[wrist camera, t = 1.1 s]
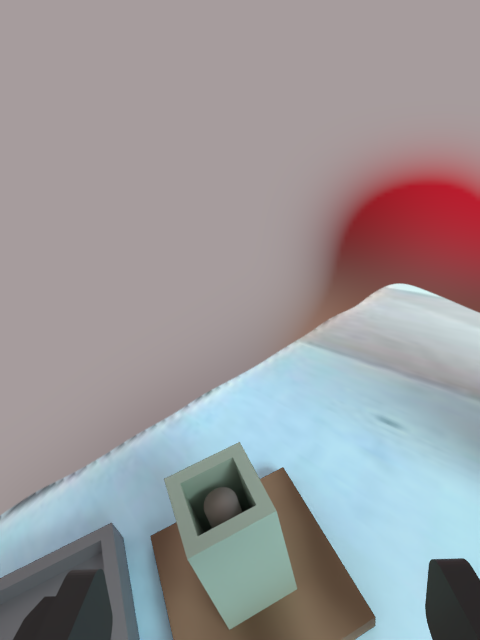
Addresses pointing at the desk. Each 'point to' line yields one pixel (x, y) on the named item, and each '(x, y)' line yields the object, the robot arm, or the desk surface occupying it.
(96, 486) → the desk surface
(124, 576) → the grey tray
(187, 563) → the board
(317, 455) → the desk surface
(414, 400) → the desk surface
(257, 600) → the sleeve
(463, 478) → the desk surface
